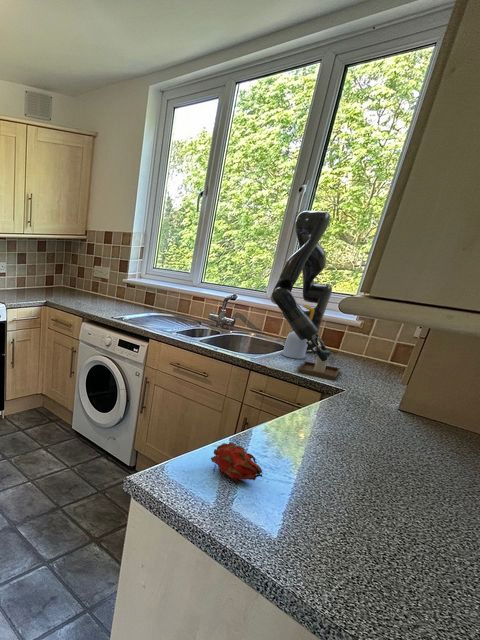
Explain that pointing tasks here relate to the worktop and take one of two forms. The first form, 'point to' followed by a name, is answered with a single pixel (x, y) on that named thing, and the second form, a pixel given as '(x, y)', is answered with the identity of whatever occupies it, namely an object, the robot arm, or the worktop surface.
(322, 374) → the tray
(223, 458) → the dragon fruit
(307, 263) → the robot arm
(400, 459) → the worktop surface
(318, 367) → the shaving stick
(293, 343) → the soap bottle
